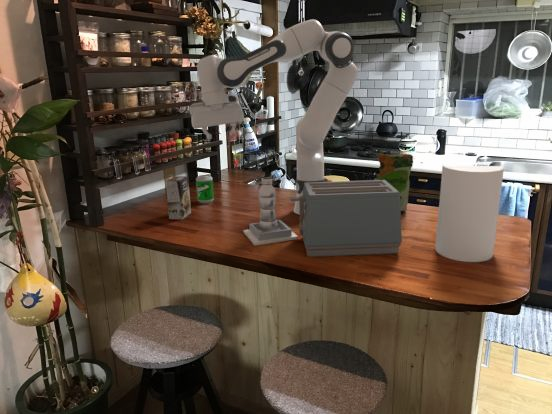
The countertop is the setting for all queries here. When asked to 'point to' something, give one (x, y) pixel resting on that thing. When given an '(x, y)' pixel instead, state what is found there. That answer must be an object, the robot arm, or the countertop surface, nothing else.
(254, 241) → the bottle holder
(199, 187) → the soda can
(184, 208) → the coffee box
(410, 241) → the countertop surface
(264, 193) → the plastic bottle
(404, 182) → the pouch
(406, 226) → the countertop surface
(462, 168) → the cylinder
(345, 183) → the toaster
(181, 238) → the countertop surface
